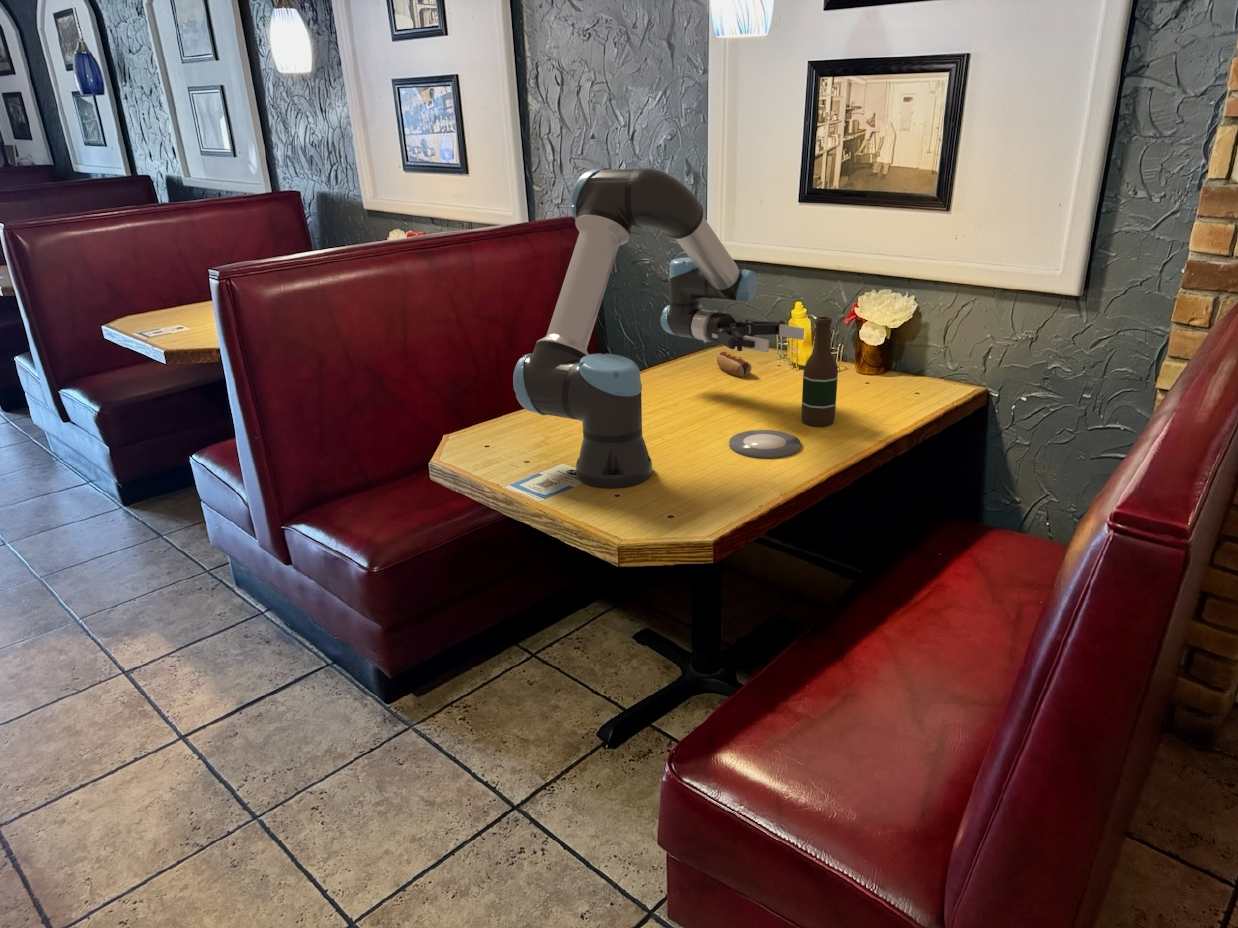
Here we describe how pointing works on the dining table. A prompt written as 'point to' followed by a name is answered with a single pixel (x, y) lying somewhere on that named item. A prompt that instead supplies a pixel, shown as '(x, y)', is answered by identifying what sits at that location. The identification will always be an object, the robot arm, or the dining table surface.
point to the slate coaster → (764, 444)
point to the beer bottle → (820, 379)
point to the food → (733, 364)
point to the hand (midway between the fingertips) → (785, 340)
